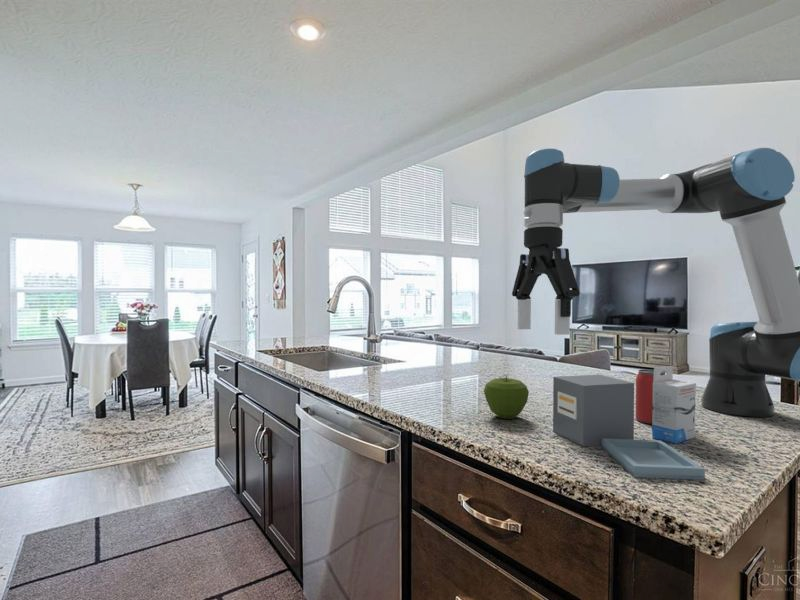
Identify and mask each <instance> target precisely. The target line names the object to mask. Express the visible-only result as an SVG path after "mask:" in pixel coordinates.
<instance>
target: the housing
mask: <svg viewBox="0 0 800 600" xmlns="http://www.w3.org/2000/svg"><path fill="white" fill-rule="evenodd" d="M552 389H553V393H552V395H553V397H552V398H553V399H552V400H553V403H552V404H553V405H552V408H553V410H552V432H554V433H556V434H558V435H560V436H562V437H563V438H565V439H567V440H570V441H571V442H573V443H575V444H578V445H579V446H582V447H593V446H602V438H604V439H634V440H635V438H634V437H635V433H634V432H635V431H634V430H635V383H634V382H631V381H629V380H623V379H620V378H615V377H611V376H608V375H603V374H588V375H587V374H586V375H566V376H565V375H564V376H563V375H562V376H561V375H560V376H553V388H552Z"/></svg>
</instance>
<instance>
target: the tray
mask: <svg viewBox="0 0 800 600" xmlns="http://www.w3.org/2000/svg"><path fill="white" fill-rule="evenodd" d="M601 448H602V450H604V451H605V452H606V453H607V454H608V455H609V456H610V457H611V458H613V459H614V461H615V462H616V463H618V464H619V465H620V466H621V467H622V468H623V469H624V470H625V471H626V472H628V473H629V474H630V475H631V476H632V477H633V478H643V479H644V478H647V479H648V478H649V479H651V478H653V479H668V480H669V479H674V480H697V481H705V480H706V479H705V478H706V468H704V467H703V466H701V465H700V464H698V463H696V462H695V461H693V460H692V459H691V458H689V457H687V455H686V456H685V455H684V454H683V453H681V452H680V451H678V450H676V449H675V448H673V447H672V446H670V445H669V444H667V443H666V442H665V441H663V440H659V439H635V438H634V439H604V438H602V445H601Z"/></svg>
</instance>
